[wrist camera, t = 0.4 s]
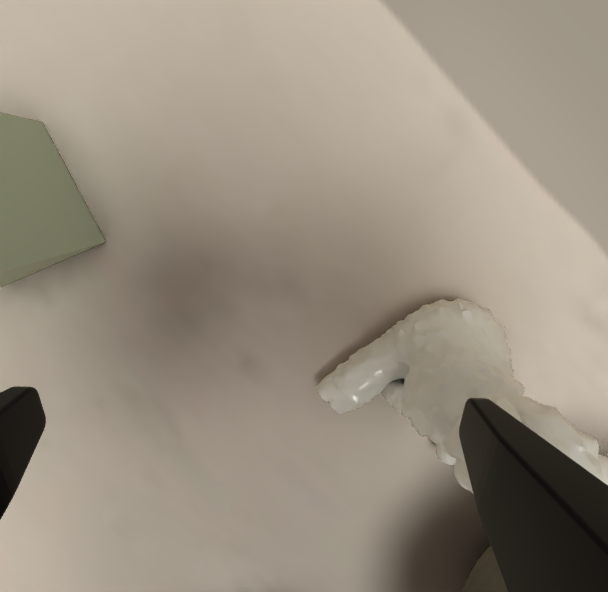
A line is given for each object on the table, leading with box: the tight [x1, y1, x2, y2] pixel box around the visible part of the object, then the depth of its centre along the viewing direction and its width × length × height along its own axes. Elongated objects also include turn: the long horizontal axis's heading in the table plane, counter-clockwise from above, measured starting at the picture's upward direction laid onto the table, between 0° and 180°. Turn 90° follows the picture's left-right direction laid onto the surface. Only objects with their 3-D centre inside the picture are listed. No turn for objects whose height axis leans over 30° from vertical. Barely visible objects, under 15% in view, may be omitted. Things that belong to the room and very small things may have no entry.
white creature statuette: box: [317, 298, 608, 495], centre depth 18 cm, size 10×9×12 cm
